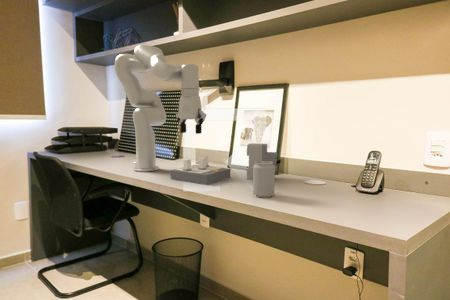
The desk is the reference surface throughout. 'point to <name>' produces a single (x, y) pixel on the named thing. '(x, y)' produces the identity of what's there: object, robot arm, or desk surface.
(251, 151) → the circuit breaker
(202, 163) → the handle
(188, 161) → the handle
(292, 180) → the desk surface
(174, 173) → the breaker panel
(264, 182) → the can
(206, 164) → the handle
